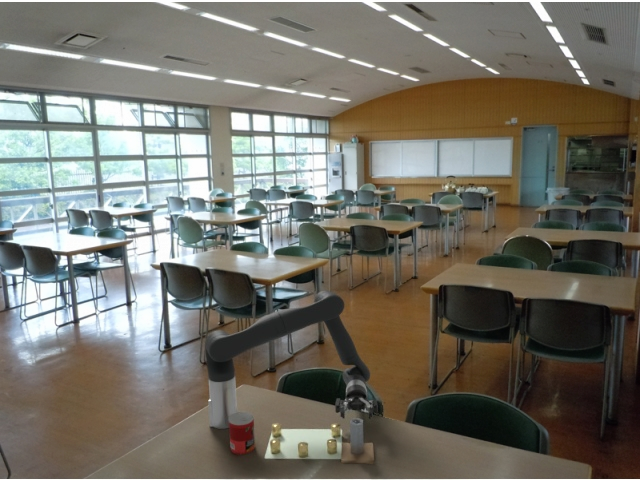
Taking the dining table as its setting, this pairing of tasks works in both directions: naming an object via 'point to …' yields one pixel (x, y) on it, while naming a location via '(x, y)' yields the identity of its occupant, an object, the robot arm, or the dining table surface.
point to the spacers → (303, 445)
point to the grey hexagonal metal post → (356, 436)
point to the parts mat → (310, 436)
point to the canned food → (241, 433)
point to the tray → (352, 458)
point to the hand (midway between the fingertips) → (356, 416)
